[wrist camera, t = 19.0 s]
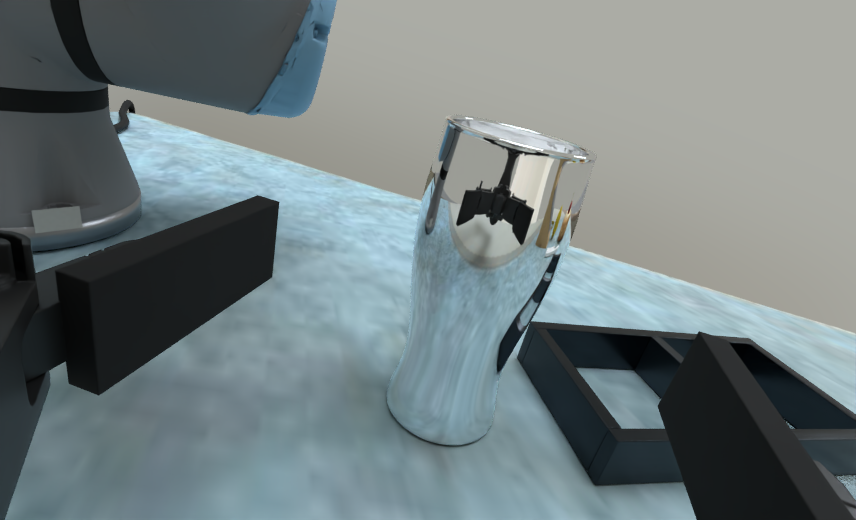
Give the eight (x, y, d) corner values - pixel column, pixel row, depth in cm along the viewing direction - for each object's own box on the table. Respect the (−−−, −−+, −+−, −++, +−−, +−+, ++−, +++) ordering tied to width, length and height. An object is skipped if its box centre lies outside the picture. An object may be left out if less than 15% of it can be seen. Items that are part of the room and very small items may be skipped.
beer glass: (386, 455, 21) (468, 135, 15) (371, 360, 27) (425, 105, 21) (519, 453, 23) (638, 169, 17) (477, 365, 29) (554, 133, 23)
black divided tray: (516, 357, 31) (530, 320, 30) (730, 368, 37) (748, 337, 35) (594, 485, 22) (618, 441, 21) (860, 474, 28) (891, 439, 27)
